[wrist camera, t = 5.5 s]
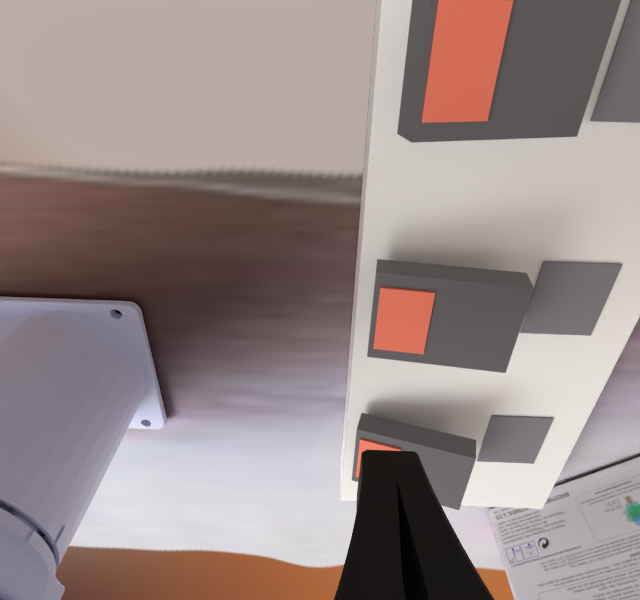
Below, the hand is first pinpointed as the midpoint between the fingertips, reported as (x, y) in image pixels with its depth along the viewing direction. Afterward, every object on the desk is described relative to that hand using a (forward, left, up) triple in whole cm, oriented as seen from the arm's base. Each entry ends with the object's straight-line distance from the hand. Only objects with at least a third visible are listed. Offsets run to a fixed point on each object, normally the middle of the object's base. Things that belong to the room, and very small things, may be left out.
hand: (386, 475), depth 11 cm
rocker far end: (+3, -7, -6) cm, 10 cm away
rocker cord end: (+3, +9, -6) cm, 11 cm away
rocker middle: (+3, +1, -6) cm, 7 cm away
